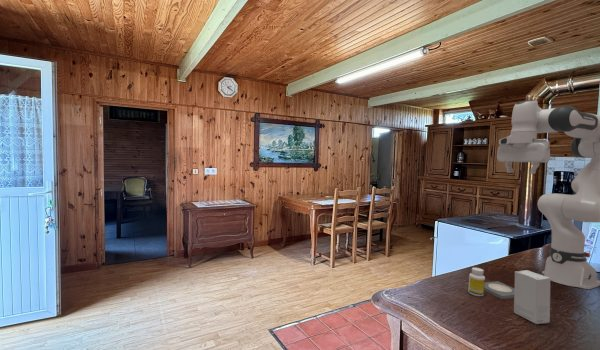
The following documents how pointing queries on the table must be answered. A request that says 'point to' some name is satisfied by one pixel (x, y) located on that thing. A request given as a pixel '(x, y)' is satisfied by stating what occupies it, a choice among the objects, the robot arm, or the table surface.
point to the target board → (499, 290)
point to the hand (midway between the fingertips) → (520, 173)
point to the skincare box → (532, 296)
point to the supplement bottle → (476, 282)
